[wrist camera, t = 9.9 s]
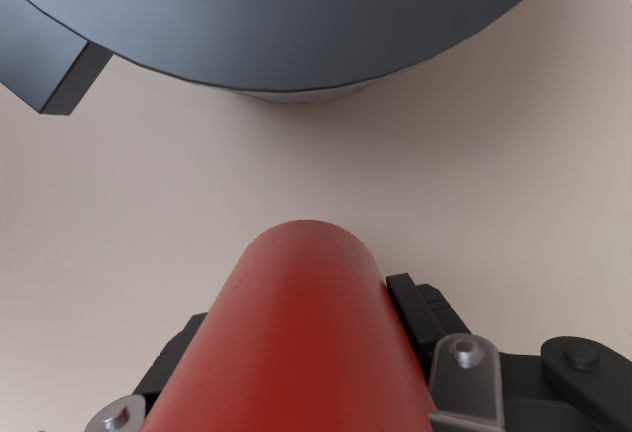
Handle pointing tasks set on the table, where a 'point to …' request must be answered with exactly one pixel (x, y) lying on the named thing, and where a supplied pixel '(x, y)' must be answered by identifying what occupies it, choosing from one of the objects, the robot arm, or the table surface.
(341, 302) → the tomato can
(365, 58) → the pot lid
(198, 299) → the table surface
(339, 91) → the pot
